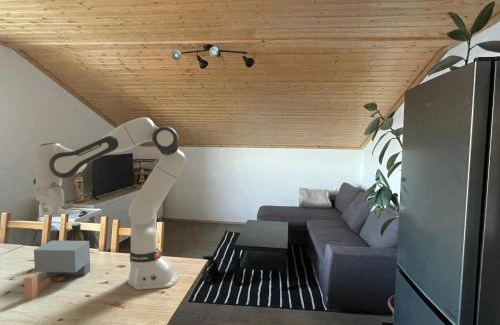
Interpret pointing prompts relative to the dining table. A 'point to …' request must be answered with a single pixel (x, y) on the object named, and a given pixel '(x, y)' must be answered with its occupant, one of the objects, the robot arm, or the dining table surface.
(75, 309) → the dining table surface
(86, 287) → the dining table surface
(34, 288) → the square headed mallet
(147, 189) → the robot arm
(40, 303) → the dining table surface
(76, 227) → the sauce bottle
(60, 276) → the brown round piece
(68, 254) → the grey block
